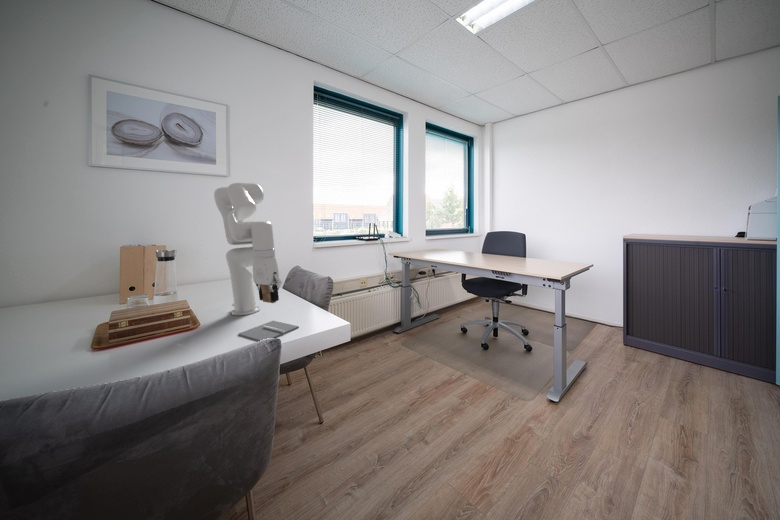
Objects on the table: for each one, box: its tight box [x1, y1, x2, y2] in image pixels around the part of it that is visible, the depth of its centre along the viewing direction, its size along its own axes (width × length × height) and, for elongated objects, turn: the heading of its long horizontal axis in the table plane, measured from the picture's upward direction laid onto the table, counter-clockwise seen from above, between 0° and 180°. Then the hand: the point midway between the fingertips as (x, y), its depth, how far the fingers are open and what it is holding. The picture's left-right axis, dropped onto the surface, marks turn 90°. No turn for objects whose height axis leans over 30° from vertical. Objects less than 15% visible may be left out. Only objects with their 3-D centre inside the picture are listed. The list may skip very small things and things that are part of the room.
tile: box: [261, 285, 277, 304], centre depth 114 cm, size 6×2×7 cm, turn 59°
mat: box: [237, 320, 300, 342], centre depth 117 cm, size 16×16×2 cm
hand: (269, 299), depth 114 cm, fingers closed on tile, 6 cm apart
